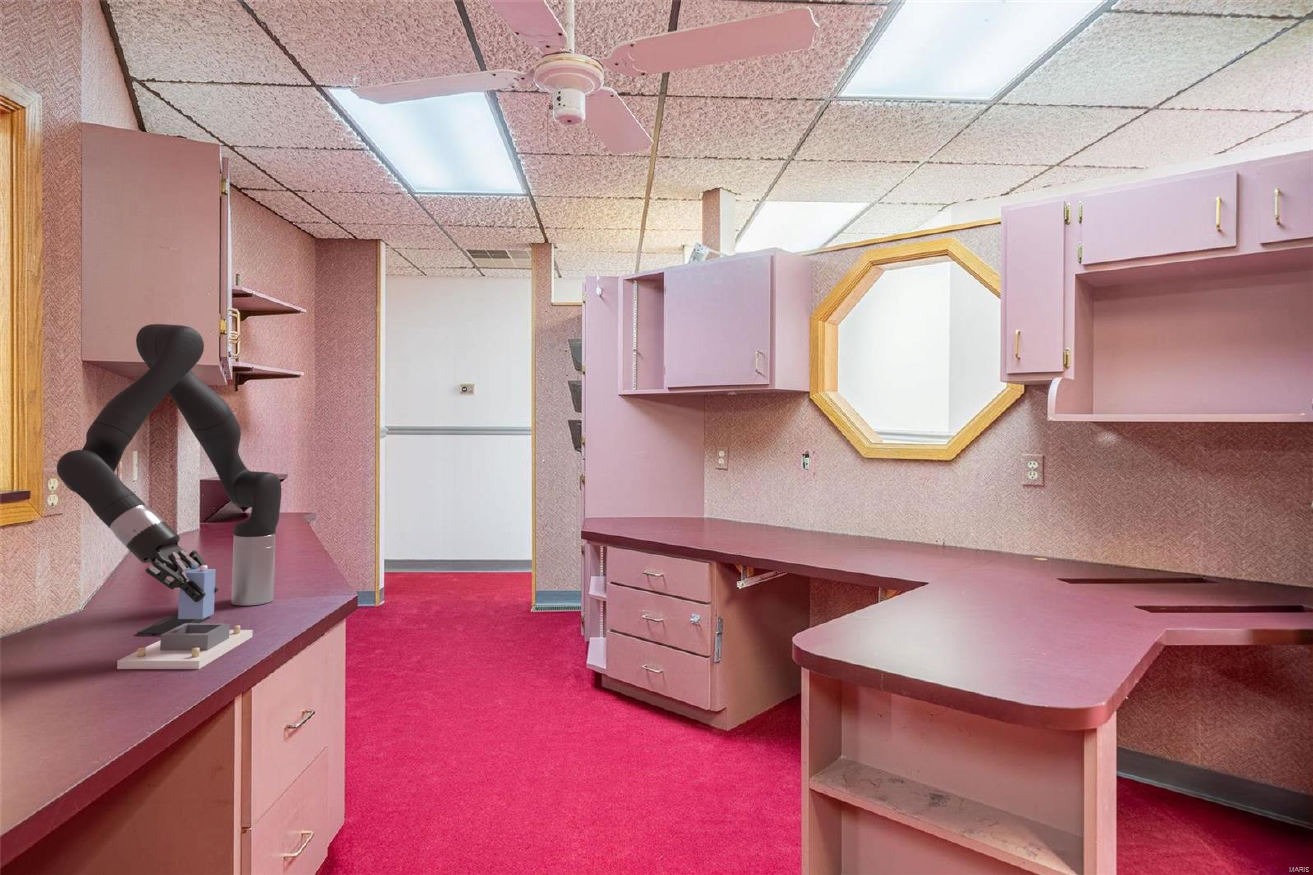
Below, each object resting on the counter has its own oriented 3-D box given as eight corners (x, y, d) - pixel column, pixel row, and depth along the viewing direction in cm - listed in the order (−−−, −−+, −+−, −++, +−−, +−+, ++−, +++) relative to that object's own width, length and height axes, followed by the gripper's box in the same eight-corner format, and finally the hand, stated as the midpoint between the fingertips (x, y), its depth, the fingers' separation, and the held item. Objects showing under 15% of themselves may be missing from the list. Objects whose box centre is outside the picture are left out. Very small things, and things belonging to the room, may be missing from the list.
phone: (212, 613, 158) (174, 632, 144) (211, 618, 158) (174, 637, 144) (175, 613, 158) (134, 632, 143) (175, 618, 158) (134, 637, 143)
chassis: (182, 636, 143) (183, 615, 143) (252, 636, 145) (253, 615, 145) (117, 668, 123) (118, 644, 123) (198, 669, 125) (199, 644, 125)
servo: (189, 613, 136) (192, 563, 136) (213, 613, 136) (216, 564, 136) (177, 618, 132) (180, 567, 132) (202, 619, 132) (204, 567, 132)
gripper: (136, 524, 126) (202, 591, 127) (181, 516, 140) (240, 575, 142) (104, 552, 126) (171, 619, 127) (153, 541, 140) (212, 601, 141)
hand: (207, 595), depth 134 cm, fingers closed on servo, 4 cm apart
